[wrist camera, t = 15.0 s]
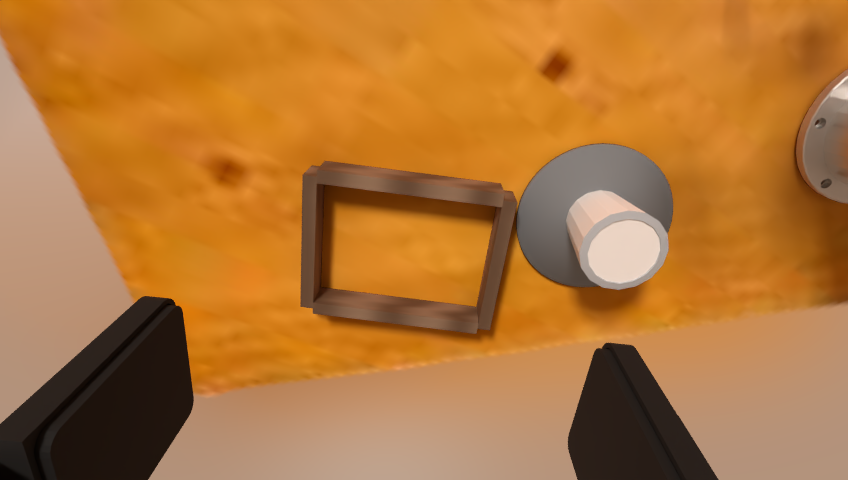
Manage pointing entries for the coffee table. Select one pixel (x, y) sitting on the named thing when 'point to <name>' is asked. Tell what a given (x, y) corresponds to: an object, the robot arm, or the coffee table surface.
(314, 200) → the brown rectangular frame
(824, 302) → the coffee table surface
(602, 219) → the white cylinder
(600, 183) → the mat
